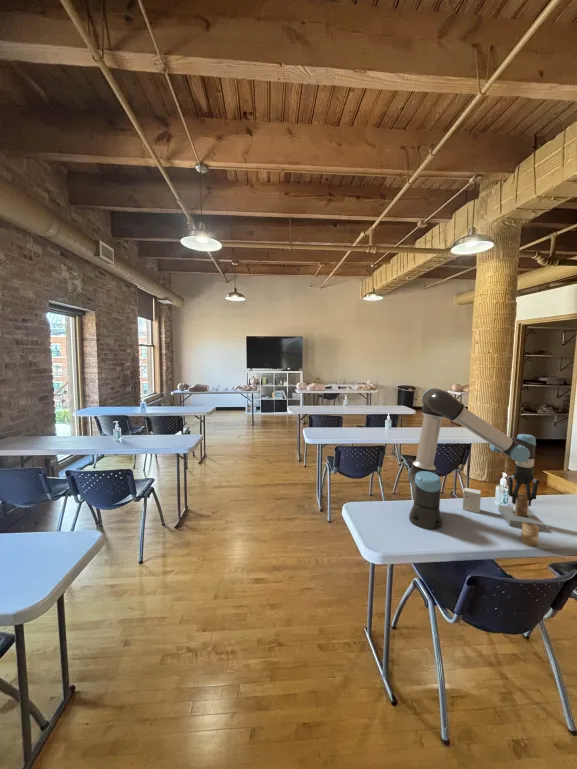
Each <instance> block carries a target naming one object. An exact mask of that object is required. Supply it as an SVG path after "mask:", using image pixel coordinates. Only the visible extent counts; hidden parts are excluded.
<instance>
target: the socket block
mask: <svg viewBox="0 0 577 769" xmlns="http://www.w3.org/2000/svg"><path fill="white" fill-rule="evenodd" d="M513 508H514V506H508V505H503V504H502V505H501V504H499V505H498V511H499V513H500V514H501V516H502V518H503V519H504V520H505V521H506V523H507V524H508V525H509V527H513V528H514V527H515V528H520V529H522V523H523V522H528V523H532V524H535V525H537V526H538V527H539V532H544V530H545V524H544V523H543V522H542V521H541V520H540V519H539V517H537V515H536V514H535V513H534V512H533V511H532V510H531V508H528V513H527V517H520V516H515V514H514V511H515V510H514V509H513Z"/></svg>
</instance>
